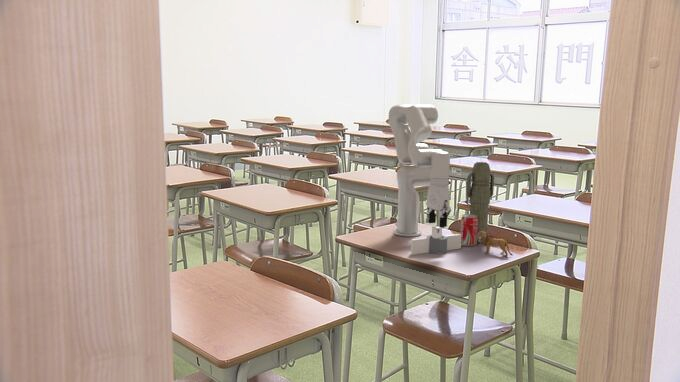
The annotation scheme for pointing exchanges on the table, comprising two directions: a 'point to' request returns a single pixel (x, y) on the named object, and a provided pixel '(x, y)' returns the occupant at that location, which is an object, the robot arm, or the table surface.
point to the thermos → (480, 194)
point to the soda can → (469, 230)
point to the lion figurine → (492, 242)
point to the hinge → (435, 244)
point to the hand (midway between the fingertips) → (437, 224)
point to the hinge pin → (437, 232)
